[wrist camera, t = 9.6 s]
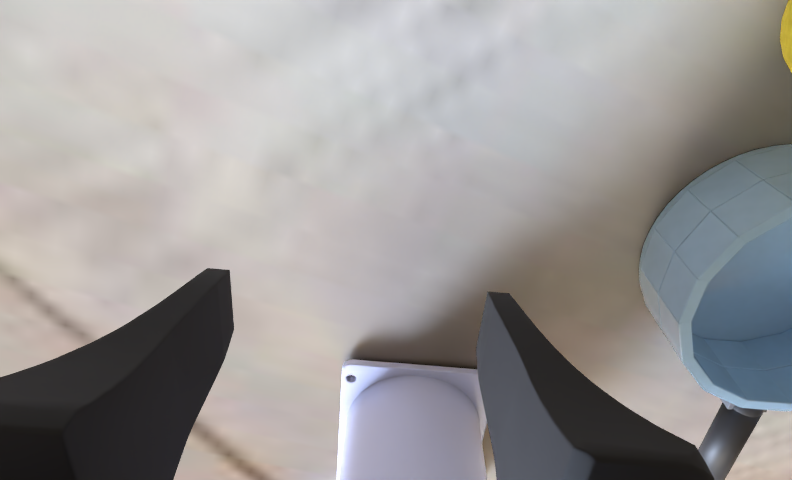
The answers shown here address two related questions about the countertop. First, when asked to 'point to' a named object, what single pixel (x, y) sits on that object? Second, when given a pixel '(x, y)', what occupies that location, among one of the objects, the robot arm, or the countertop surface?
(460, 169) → the countertop surface
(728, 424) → the pan handle
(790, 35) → the lemon
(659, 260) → the pan
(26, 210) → the countertop surface
